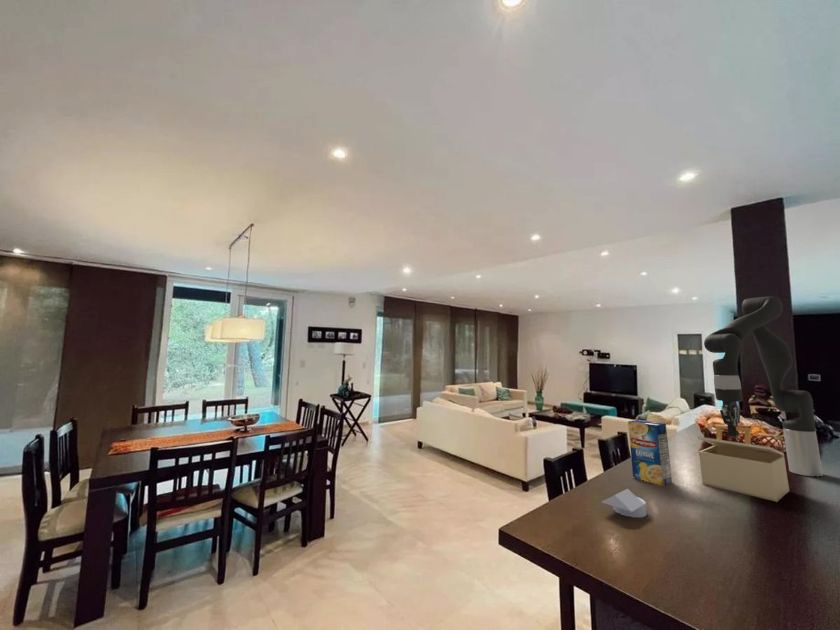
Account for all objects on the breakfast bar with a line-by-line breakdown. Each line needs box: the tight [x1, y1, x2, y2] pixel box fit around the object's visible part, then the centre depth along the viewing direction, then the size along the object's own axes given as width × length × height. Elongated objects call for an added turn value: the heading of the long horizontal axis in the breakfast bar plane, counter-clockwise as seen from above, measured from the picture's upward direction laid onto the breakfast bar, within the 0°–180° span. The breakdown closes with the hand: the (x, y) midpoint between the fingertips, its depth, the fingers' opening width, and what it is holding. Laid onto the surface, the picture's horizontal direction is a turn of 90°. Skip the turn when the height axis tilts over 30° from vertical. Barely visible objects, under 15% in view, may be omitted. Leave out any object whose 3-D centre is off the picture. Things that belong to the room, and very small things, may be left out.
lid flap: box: [697, 424, 785, 457], centre depth 130 cm, size 16×20×6 cm
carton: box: [698, 445, 790, 503], centre depth 128 cm, size 16×20×12 cm
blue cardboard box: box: [627, 419, 673, 487], centre depth 138 cm, size 7×11×22 cm, turn 30°
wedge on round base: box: [601, 488, 647, 518], centre depth 108 cm, size 9×7×13 cm
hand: (733, 435), depth 127 cm, fingers closed
